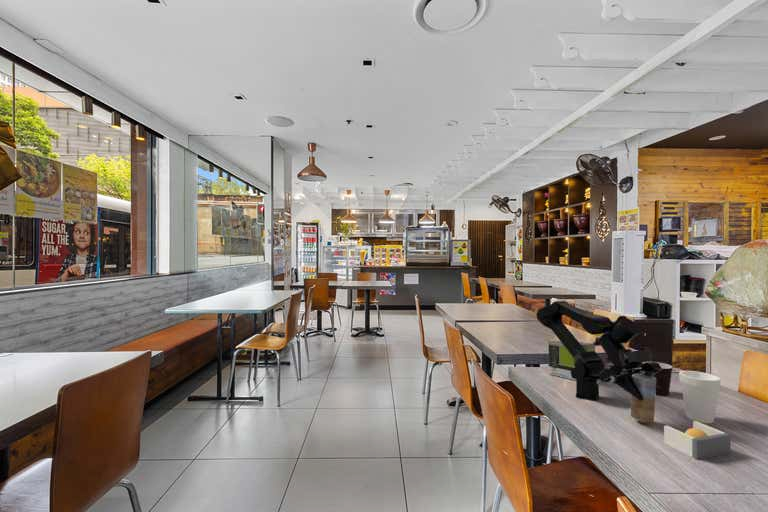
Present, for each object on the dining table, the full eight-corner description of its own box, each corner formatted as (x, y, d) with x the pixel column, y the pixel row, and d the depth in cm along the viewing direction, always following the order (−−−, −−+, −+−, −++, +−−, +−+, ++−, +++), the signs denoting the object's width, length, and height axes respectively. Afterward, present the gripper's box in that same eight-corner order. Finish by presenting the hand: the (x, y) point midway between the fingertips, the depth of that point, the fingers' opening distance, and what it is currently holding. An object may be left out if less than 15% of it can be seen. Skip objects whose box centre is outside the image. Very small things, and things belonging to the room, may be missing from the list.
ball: (689, 433, 92) (682, 448, 94) (714, 443, 89) (707, 458, 91) (687, 420, 96) (680, 435, 98) (711, 429, 93) (704, 444, 95)
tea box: (596, 378, 148) (595, 341, 148) (586, 383, 142) (586, 345, 142) (558, 369, 160) (558, 335, 160) (547, 374, 153) (547, 339, 153)
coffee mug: (679, 397, 128) (678, 368, 128) (653, 397, 128) (653, 368, 128) (655, 385, 139) (654, 359, 139) (632, 385, 139) (631, 359, 139)
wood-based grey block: (630, 416, 110) (632, 375, 109) (641, 414, 111) (643, 374, 110) (642, 423, 106) (645, 380, 105) (653, 421, 107) (656, 379, 106)
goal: (664, 443, 96) (664, 425, 96) (696, 437, 99) (695, 421, 99) (696, 459, 89) (696, 440, 89) (730, 453, 91) (730, 434, 91)
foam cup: (711, 428, 105) (710, 382, 105) (673, 415, 113) (673, 373, 113) (726, 421, 109) (726, 377, 109) (689, 409, 117) (688, 369, 117)
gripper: (607, 339, 109) (640, 390, 99) (656, 335, 114) (693, 384, 103) (586, 358, 117) (615, 407, 106) (633, 354, 122) (665, 400, 111)
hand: (647, 399), depth 107 cm, fingers closed on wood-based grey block, 4 cm apart
